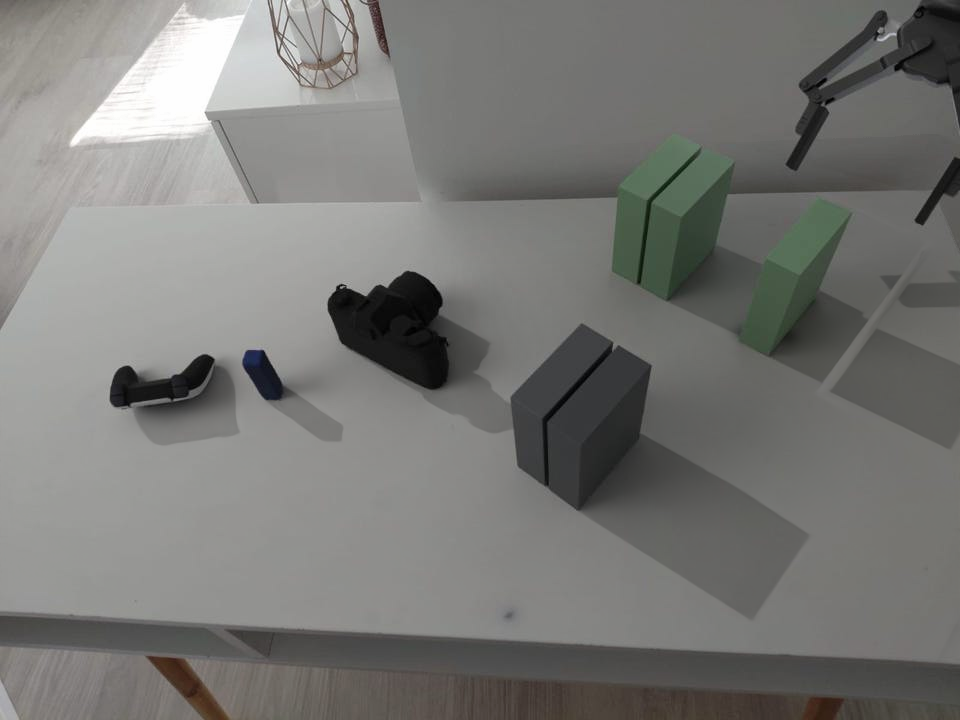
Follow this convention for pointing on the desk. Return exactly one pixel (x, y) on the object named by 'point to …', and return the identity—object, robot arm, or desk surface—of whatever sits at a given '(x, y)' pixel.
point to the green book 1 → (645, 202)
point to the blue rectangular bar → (262, 374)
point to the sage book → (793, 275)
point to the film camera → (395, 327)
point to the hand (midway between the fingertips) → (852, 194)
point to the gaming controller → (160, 385)
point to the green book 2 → (685, 223)
